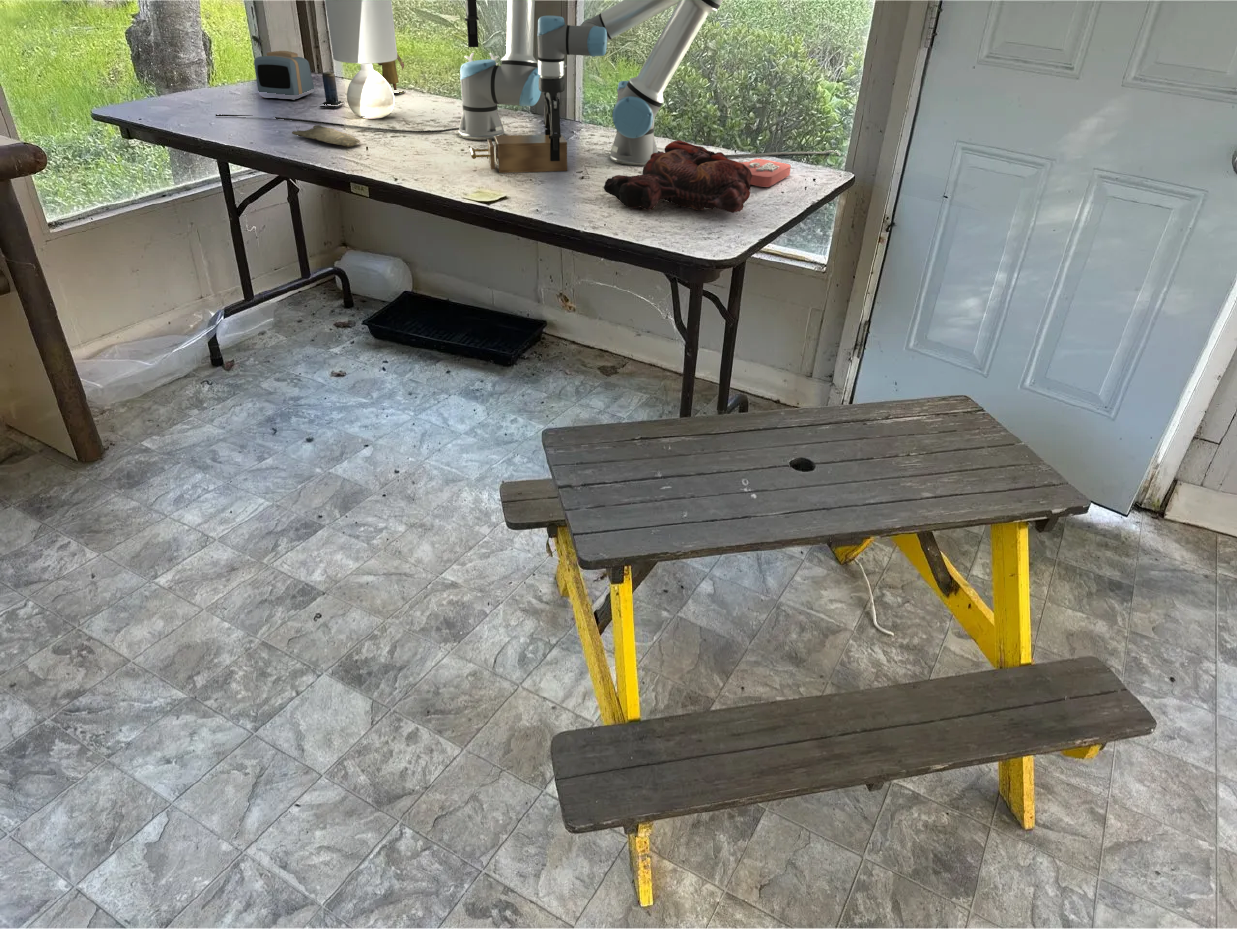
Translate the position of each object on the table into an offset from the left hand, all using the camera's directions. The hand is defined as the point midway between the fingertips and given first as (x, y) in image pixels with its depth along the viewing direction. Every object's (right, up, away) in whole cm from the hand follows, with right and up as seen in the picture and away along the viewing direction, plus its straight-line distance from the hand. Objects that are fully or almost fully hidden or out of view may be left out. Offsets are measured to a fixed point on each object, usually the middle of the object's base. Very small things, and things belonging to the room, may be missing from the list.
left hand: (473, 46), depth 236 cm
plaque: (+82, -30, +19) cm, 90 cm away
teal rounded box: (-89, +27, +94) cm, 132 cm away
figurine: (-50, +32, +104) cm, 120 cm away
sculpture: (+56, -46, -5) cm, 73 cm away
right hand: (+20, -23, +21) cm, 37 cm away
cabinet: (+14, -26, +22) cm, 37 cm away
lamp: (-48, +10, +71) cm, 86 cm away
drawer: (+8, -26, +20) cm, 34 cm away
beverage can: (-67, +18, +81) cm, 107 cm away
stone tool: (-54, -11, +40) cm, 68 cm away
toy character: (-10, +17, +84) cm, 86 cm away
